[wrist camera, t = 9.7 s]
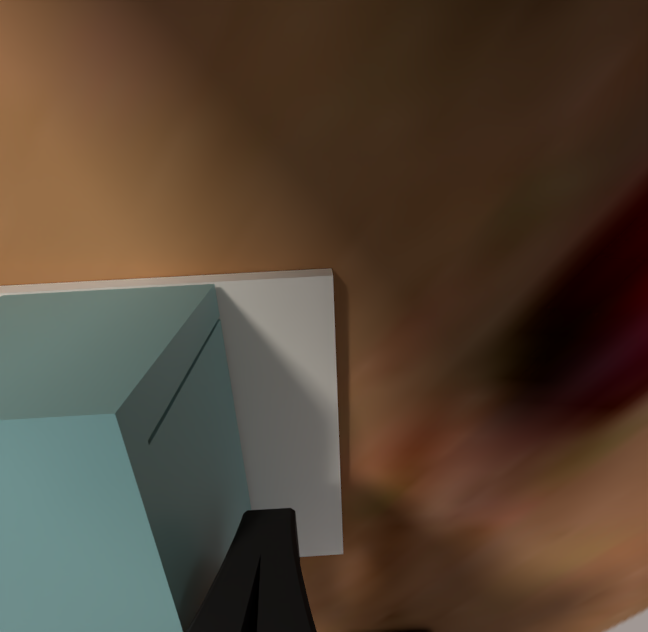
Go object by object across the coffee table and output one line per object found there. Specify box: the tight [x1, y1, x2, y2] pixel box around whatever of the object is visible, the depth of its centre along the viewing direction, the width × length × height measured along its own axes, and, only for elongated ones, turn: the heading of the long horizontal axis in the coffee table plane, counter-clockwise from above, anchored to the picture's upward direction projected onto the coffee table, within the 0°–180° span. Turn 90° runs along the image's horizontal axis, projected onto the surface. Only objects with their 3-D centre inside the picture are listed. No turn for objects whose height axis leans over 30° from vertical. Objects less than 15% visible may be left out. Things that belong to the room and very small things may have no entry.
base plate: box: [0, 268, 343, 557], centre depth 12 cm, size 12×18×4 cm, turn 93°
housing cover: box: [0, 284, 251, 632], centre depth 10 cm, size 12×6×6 cm, turn 3°
